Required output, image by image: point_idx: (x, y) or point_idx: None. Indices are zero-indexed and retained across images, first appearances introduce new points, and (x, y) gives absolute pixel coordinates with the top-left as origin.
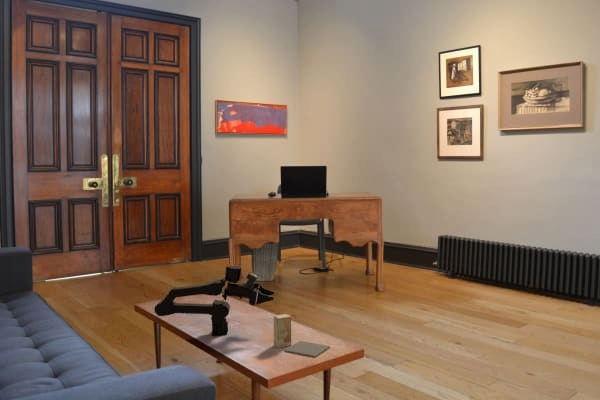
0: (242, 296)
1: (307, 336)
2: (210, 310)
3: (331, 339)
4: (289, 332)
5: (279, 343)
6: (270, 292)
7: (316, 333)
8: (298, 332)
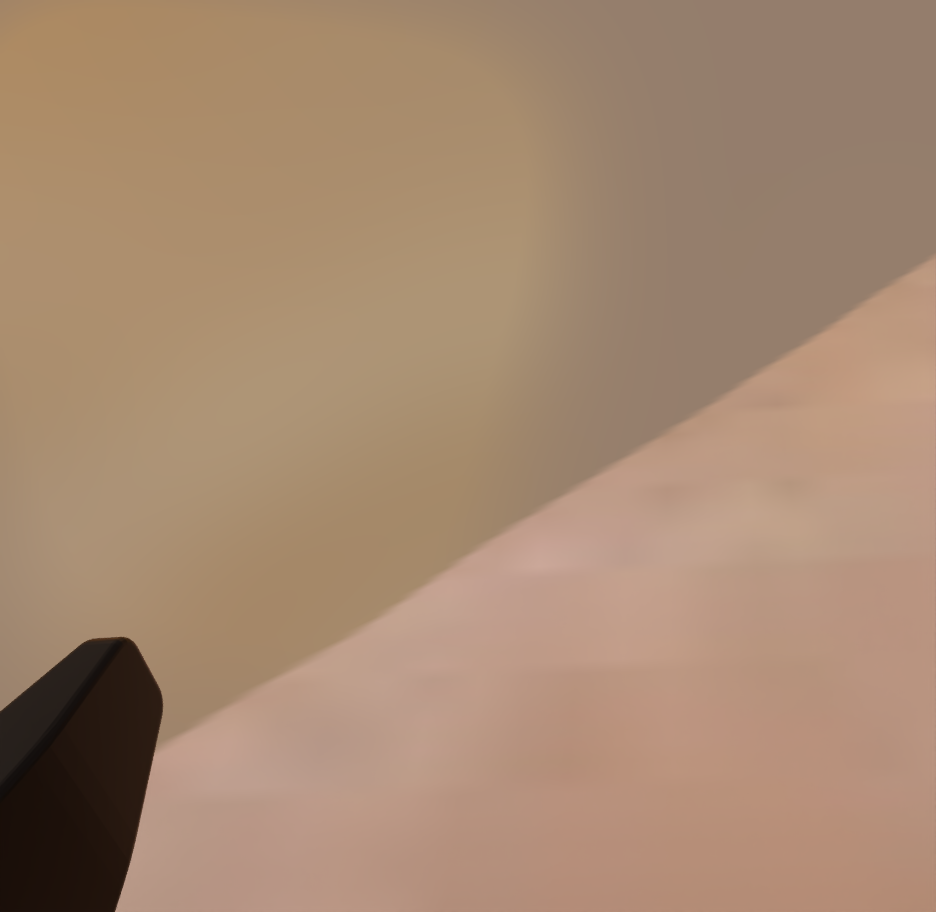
0: None
1: (852, 520)
2: None
3: (915, 315)
4: None
5: None
6: (67, 808)
7: (717, 440)
8: (685, 630)
